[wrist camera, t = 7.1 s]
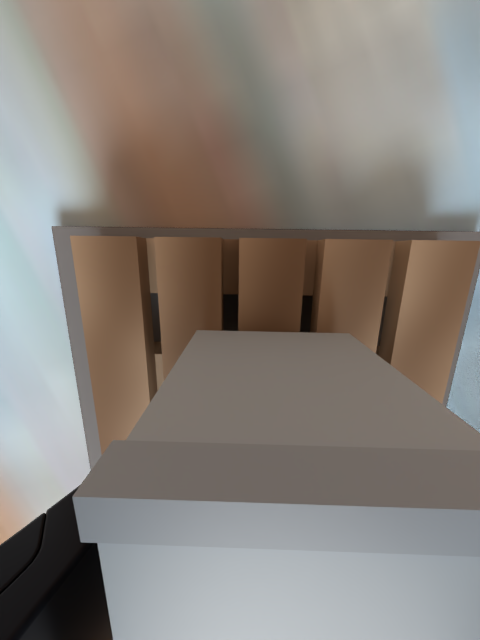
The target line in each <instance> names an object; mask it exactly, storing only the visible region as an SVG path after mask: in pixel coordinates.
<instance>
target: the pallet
mask: <svg viewBox="0 0 480 640" xmlns="http://www.w3.org/2000/svg"><path fill="white" fill-rule="evenodd" d="M70 240H71V247H72V254H73V261H74V268H75V275H76V282H77V289H78V296H79V302H80V309H81V316H82V323H83V330H84V337H85V344H86V351H87V358H88V364H89V371H90V378H91V385H92V392H93V399H94V406H95V413H96V419H97V426H98V433H99V440H100V447H101V454H102V455H103V453H104V452H105V450H106V449H107V448H108V446H109V445H110V443H111V442H112V441H113V440H126V439H127V437H128V436H129V434H130V433H131V431H132V430H133V428H134V427H135V425H136V423H137V422H138V420H139V419H140V417H141V416H142V414H143V413H144V411H145V410H146V408H147V407H148V405H149V403H150V402H151V400H152V399H153V397H154V396H155V394H156V393H157V391H158V390H159V388H160V386H161V385H162V383H163V382H164V380H165V379H166V377H167V376H168V374H169V373H170V371H171V369H172V368H173V366H174V365H175V363H176V362H177V360H178V359H179V357H180V356H181V354H182V353H183V351H184V349H185V348H186V346H187V345H188V343H189V342H190V340H191V339H192V337H193V336H194V334H195V332H196V331H197V330H212V331H223V294H239V304H238V331H260V332H300V323H301V309H302V296H303V295H310V296H313V301H312V313H311V325H310V333H349V334H351V335H352V336H353V337H355V338H356V339H357V340H359V341H360V342H361V343H363V344H364V345H365V346H366V347H368V348H369V349H370V350H372V351H373V352H374V353H376V354H377V355H378V356H380V357H381V358H382V359H383V360H385V361H386V362H387V363H389V364H390V365H391V366H393V367H394V368H395V369H397V370H398V371H399V372H401V373H402V374H403V375H404V376H406V377H407V378H408V379H410V380H411V381H412V382H414V383H415V384H416V385H418V386H419V387H420V388H421V389H423V390H424V391H425V392H427V393H428V394H429V395H431V396H432V397H433V398H435V399H436V400H437V401H439V402H440V403H441V404H442V403H443V399H444V395H445V390H446V386H447V382H448V378H449V373H450V369H451V365H452V361H453V357H454V352H455V348H456V344H457V340H458V336H459V331H460V327H461V323H462V319H463V315H464V310H465V306H466V302H467V298H468V294H469V289H470V285H471V281H472V277H473V272H474V268H475V264H476V260H477V256H478V251H479V247H480V241H447V240H407V241H393V240H370V239H322V240H307V239H292V238H239V239H222V238H215V237H154V238H142V237H136V236H70ZM150 293H158V302H159V317H160V332H161V342H154V336H153V323H152V309H151V296H150ZM384 297H387V303H386V309H385V315H384V322H383V328H382V334H381V341H380V346H377V342H378V336H379V329H380V323H381V317H382V310H383V304H384Z"/></svg>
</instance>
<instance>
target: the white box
mask: <svg viewBox="0 0 480 640" xmlns="http://www.w3.org/2000/svg"><path fill="white" fill-rule="evenodd" d="M72 498H73V504H74V509H75V514H76V520H77V525H78V530H79V536H80V541H81V542H84V543H97V544H98V550H99V557H100V563H101V569H102V575H103V581H104V587H105V593H106V599H107V605H108V611H109V617H110V624H111V630H112V636H113V640H480V433H479V432H478V431H476V430H475V429H474V428H473V427H471V426H470V425H469V424H467V423H466V422H465V421H463V420H462V419H461V418H459V417H458V416H457V415H456V414H454V413H453V412H452V411H450V410H449V409H448V408H446V407H445V406H444V405H442V404H441V403H440V402H439V401H437V400H436V399H435V398H433V397H432V396H431V395H429V394H428V393H427V392H425V391H424V390H423V389H421V388H420V387H419V386H418V385H416V384H415V383H414V382H412V381H411V380H410V379H408V378H407V377H406V376H404V375H403V374H402V373H401V372H399V371H398V370H397V369H395V368H394V367H393V366H391V365H390V364H389V363H387V362H386V361H385V360H383V359H382V358H381V357H380V356H378V355H377V354H376V353H374V352H373V351H372V350H370V349H369V348H368V347H366V346H365V345H364V344H363V343H361V342H360V341H359V340H357V339H356V338H355V337H353V336H352V335H351V334H349V333H308V332H260V331H212V330H197V331H196V332H195V334H194V336H193V337H192V339H191V340H190V342H189V343H188V345H187V346H186V348H185V349H184V351H183V353H182V354H181V356H180V357H179V359H178V360H177V362H176V363H175V365H174V366H173V368H172V369H171V371H170V373H169V374H168V376H167V377H166V379H165V380H164V382H163V383H162V385H161V386H160V388H159V390H158V391H157V393H156V394H155V396H154V397H153V399H152V400H151V402H150V403H149V405H148V407H147V408H146V410H145V411H144V413H143V414H142V416H141V417H140V419H139V420H138V422H137V423H136V425H135V427H134V428H133V430H132V431H131V433H130V434H129V436H128V437H127V439H126V440H113V441H112V442H111V443H110V445H109V446H108V448H107V449H106V450H105V452H104V453H103V455H102V456H101V457H100V459H99V460H98V462H97V463H96V464H95V466H94V467H93V469H92V470H91V471H90V473H89V474H88V475H87V477H86V478H85V480H84V481H83V482H82V484H81V485H80V487H79V488H78V489H77V491H76V492H75V494H74V495H73V496H72Z"/></svg>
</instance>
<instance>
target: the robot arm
mask: <svg viewBox="0 0 480 640" xmlns="http://www.w3.org/2000/svg"><path fill="white" fill-rule="evenodd" d="M79 487H80V486H78V487H77V488H76V489H74V490H73V491H72V492H70V493H69V494H68V495H67V496H65V497H64V498H63V499H61V500H60V501H59V502H57V503H56V504H55V505H53V506H52V507H51V508H49V509H48V510H47V512H46V514H45V513H43V514H41V515H40V516H39V517H37V518H36V519H35V520H33V521H32V522H31V523H29V524H28V525H27V526H25V527H24V528H23V529H21V530H20V531H19V532H17V533H16V534H14V535H13V536H12V537H10V538H9V539H8V540H6V541H5V542H4V543H2V544H1V545H0V640H113V636H112V630H111V624H110V617H109V611H108V605H107V599H106V593H105V587H104V581H103V575H102V569H101V563H100V557H99V550H98V544H97V543H84V542H81V541H80V536H79V530H78V525H77V520H76V514H75V509H74V504H73V498H72V496H73V495H74V494H75V492H76V491H77V489H78V488H79Z"/></svg>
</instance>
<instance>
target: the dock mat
mask: <svg viewBox="0 0 480 640" xmlns="http://www.w3.org/2000/svg"><path fill="white" fill-rule="evenodd" d="M52 232H53V239H54V245H55V251H56V257H57V264H58V270H59V276H60V282H61V288H62V295H63V301H64V307H65V313H66V319H67V326H68V332H69V338H70V344H71V351H72V357H73V363H74V369H75V375H76V382H77V388H78V394H79V400H80V407H81V413H82V419H83V425H84V431H85V438H86V444H87V450H88V456H89V463H90V469H91V470H92V469H93V467H94V466H95V464H96V463H97V462H98V460H99V459H100V457H101V456H102V454H101V447H100V440H99V433H98V426H97V419H96V413H95V406H94V399H93V392H92V385H91V378H90V371H89V364H88V358H87V351H86V344H85V337H84V330H83V323H82V316H81V309H80V302H79V296H78V289H77V282H76V275H75V268H74V261H73V254H72V247H71V240H70V236H136V237H142V238H154V237H215V238H222V239H239V238H292V239H307V240H322V239H370V240H393V241H407V240H447V241H480V232H465V231H385V230H304V229H223V228H143V227H62V226H52ZM479 269H480V247H479V251H478V256H477V260H476V264H475V268H474V272H473V277H472V281H471V285H470V289H469V294H468V298H467V302H466V306H465V310H464V315H463V319H462V323H461V327H460V331H459V336H458V340H457V344H456V348H455V352H454V357H453V361H452V365H451V369H450V373H449V378H448V382H447V386H446V390H445V395H444V399H443V403H442V405H444V406H445V407H446V405H447V401H448V397H449V393H450V389H451V385H452V381H453V377H454V372H455V368H456V364H457V360H458V356H459V352H460V348H461V344H462V339H463V335H464V331H465V327H466V323H467V319H468V315H469V311H470V306H471V302H472V298H473V294H474V290H475V286H476V282H477V278H478V274H479ZM150 296H151V309H152V323H153V336H154V342H161V332H160V317H159V302H158V293H150ZM312 301H313V296H310V295H303V296H302V309H301V323H300V332H308V333H310V325H311V313H312ZM386 303H387V297H384V304H383V310H382V317H381V323H380V329H379V336H378V342H377V346H380V341H381V334H382V328H383V322H384V315H385V309H386ZM238 304H239V294H223V331H238Z"/></svg>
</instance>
